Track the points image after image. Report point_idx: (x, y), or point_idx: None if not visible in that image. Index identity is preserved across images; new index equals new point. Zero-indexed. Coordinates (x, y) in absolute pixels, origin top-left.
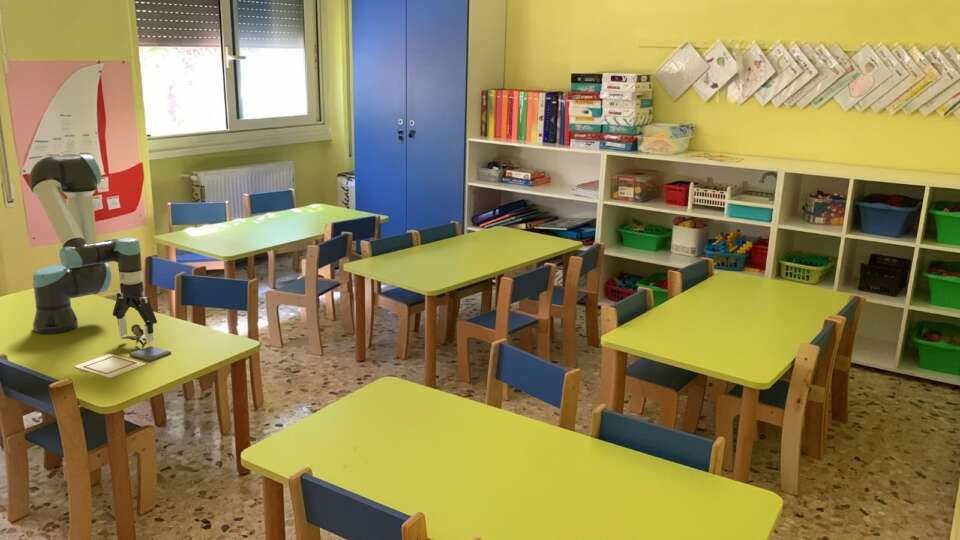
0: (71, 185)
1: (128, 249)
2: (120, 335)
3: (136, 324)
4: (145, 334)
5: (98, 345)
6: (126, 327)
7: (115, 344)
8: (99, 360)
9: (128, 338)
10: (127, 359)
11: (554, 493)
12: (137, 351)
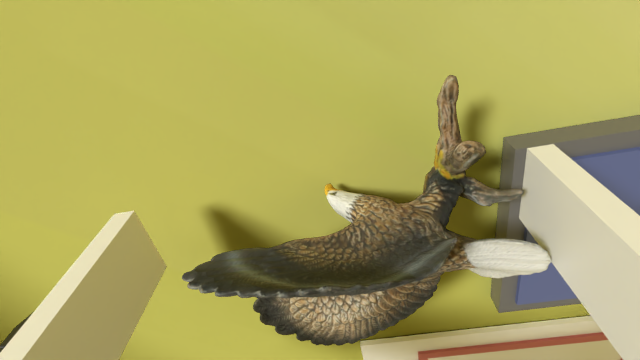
0: None
1: None
2: (157, 273)
3: (249, 295)
4: (578, 287)
5: (146, 320)
6: (93, 271)
7: (191, 259)
8: None
9: (385, 328)
10: (539, 332)
11: None
12: (528, 279)
